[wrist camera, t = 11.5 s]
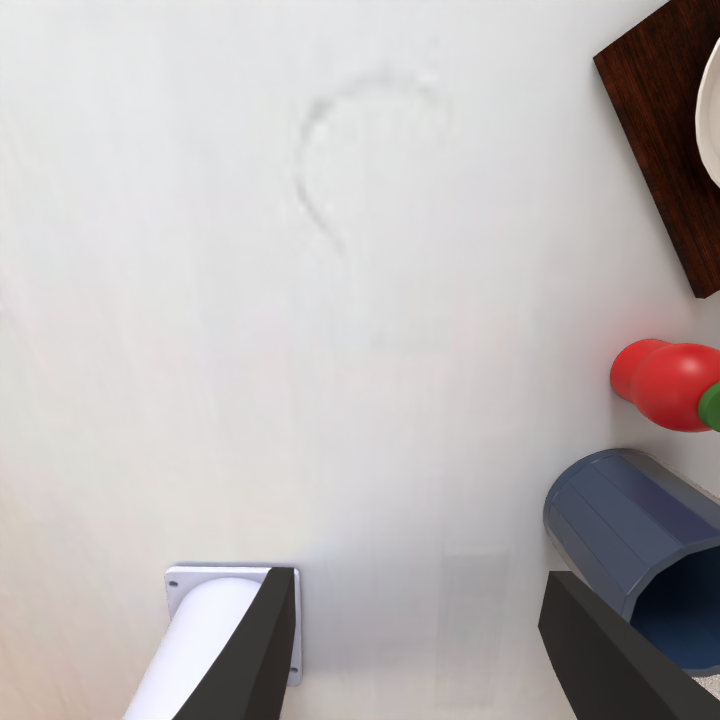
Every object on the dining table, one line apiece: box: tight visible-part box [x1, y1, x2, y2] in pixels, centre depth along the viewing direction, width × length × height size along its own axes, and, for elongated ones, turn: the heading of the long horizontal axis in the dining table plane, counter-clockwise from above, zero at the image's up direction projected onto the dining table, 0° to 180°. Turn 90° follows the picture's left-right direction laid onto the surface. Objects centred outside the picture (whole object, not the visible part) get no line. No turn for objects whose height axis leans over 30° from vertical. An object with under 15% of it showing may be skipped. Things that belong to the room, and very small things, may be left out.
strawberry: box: [610, 339, 720, 432], centre depth 16 cm, size 4×4×6 cm
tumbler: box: [543, 449, 720, 677], centre depth 18 cm, size 8×8×6 cm
